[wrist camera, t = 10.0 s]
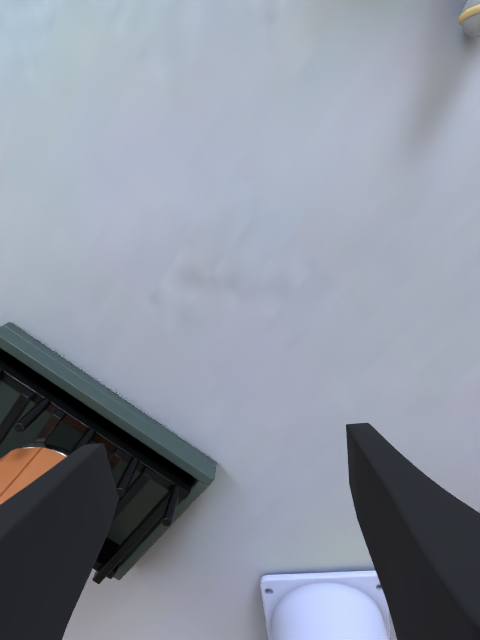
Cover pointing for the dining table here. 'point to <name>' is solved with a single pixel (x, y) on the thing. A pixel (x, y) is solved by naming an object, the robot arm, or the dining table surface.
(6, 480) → the saucepan
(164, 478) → the dish rack
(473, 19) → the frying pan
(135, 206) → the dining table surface
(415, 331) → the dining table surface
